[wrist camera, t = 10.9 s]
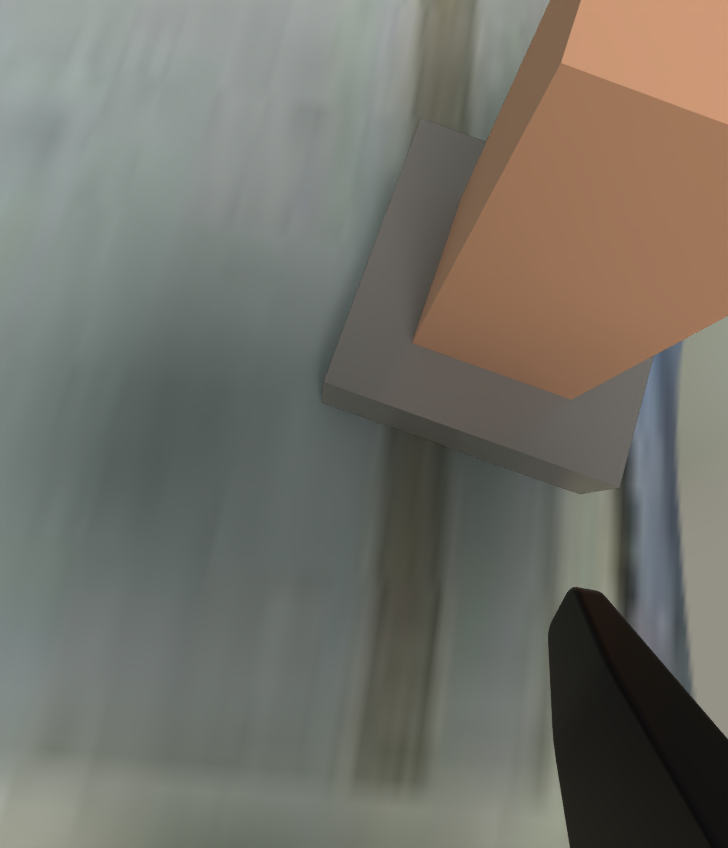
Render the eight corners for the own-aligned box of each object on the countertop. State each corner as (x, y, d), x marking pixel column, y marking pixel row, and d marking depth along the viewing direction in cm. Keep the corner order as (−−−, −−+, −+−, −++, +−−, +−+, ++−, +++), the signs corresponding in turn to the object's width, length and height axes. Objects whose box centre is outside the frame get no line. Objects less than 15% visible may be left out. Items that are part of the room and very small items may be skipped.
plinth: (580, 494, 24) (619, 487, 21) (321, 402, 23) (323, 381, 20) (646, 254, 26) (690, 216, 23) (407, 167, 25) (420, 117, 22)
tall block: (571, 399, 21) (939, 202, 9) (412, 343, 21) (560, 63, 9) (612, 251, 22) (991, -107, 10) (461, 196, 22) (655, -235, 10)
